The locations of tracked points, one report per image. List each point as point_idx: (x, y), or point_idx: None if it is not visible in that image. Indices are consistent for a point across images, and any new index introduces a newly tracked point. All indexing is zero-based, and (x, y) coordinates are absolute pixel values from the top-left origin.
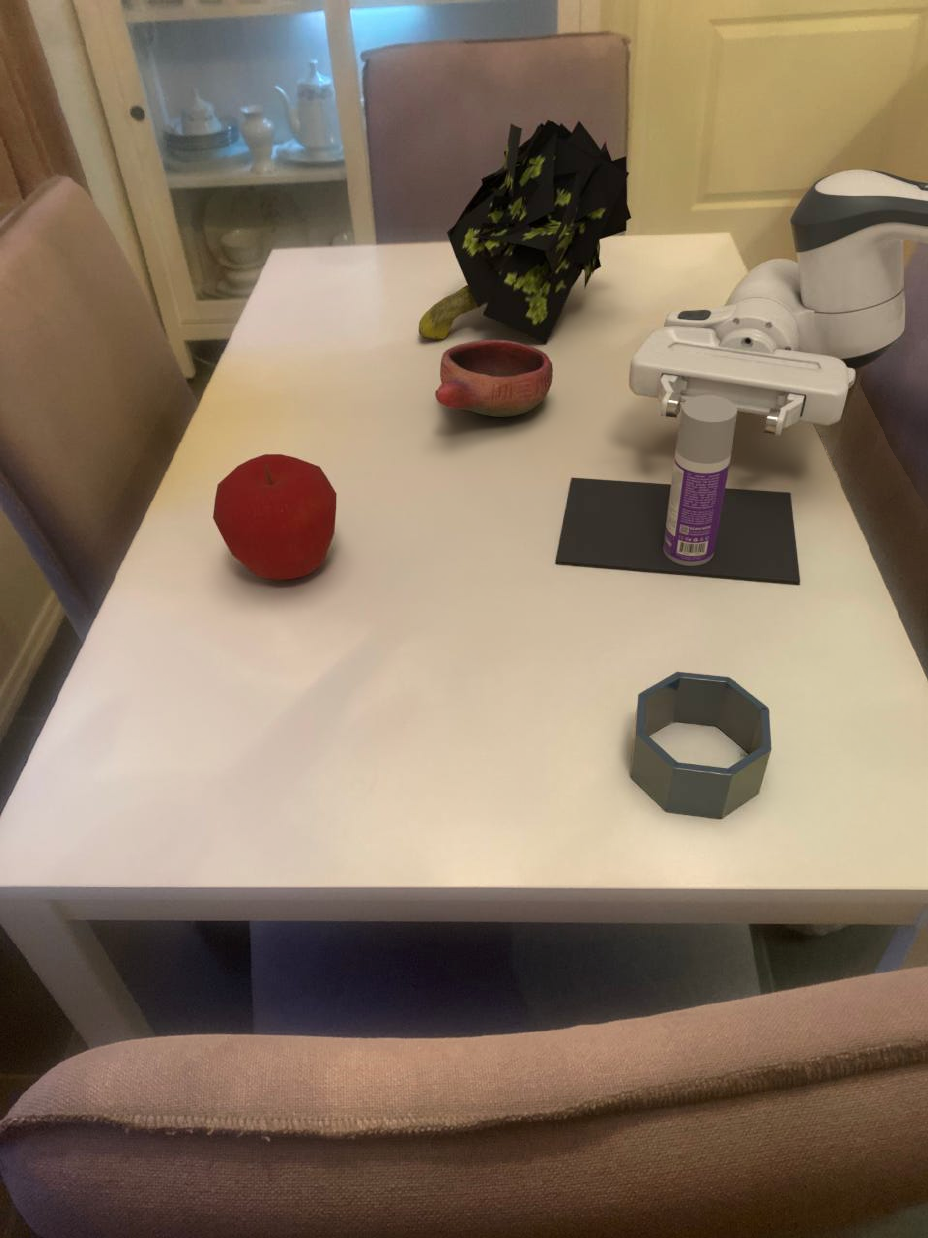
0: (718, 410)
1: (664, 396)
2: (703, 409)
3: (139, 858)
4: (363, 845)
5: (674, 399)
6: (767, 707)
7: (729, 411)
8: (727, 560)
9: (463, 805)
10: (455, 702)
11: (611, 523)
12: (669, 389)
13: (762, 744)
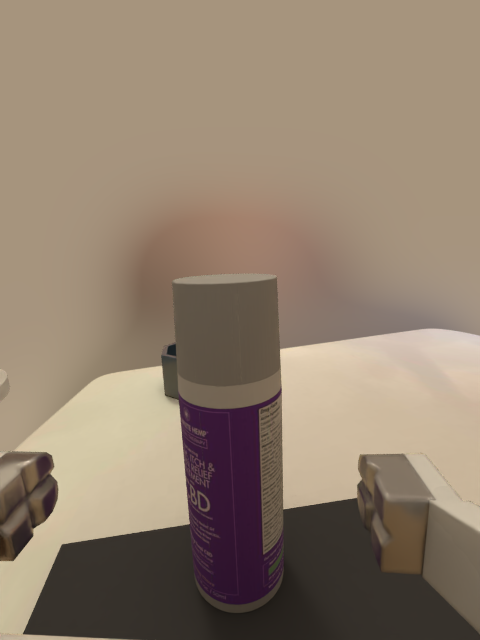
0: (207, 278)
1: (435, 467)
2: (235, 276)
3: (404, 334)
4: (334, 346)
5: (384, 459)
6: (162, 355)
7: (187, 279)
8: (171, 559)
9: (308, 358)
10: (355, 381)
11: (409, 603)
12: (466, 512)
13: (168, 346)
